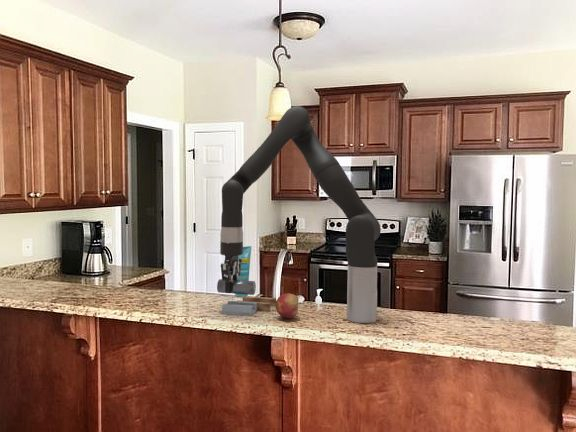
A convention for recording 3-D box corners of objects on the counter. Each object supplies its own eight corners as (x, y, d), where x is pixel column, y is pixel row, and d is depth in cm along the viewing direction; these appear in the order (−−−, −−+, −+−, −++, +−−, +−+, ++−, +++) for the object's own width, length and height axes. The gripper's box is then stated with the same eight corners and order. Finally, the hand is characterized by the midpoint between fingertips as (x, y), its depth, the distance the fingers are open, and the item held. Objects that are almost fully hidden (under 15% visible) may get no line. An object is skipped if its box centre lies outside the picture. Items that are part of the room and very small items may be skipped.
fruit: (291, 323, 144) (291, 297, 144) (270, 319, 148) (270, 294, 148) (303, 317, 151) (304, 292, 150) (283, 314, 155) (283, 290, 154)
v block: (256, 311, 158) (257, 302, 158) (251, 316, 152) (251, 306, 152) (228, 309, 160) (228, 300, 160) (221, 313, 154) (221, 304, 154)
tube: (236, 297, 179) (236, 247, 178) (230, 295, 183) (230, 246, 182) (253, 295, 183) (253, 246, 183) (247, 293, 187) (247, 245, 187)
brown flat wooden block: (276, 305, 167) (276, 298, 167) (269, 311, 158) (269, 303, 158) (244, 303, 170) (244, 296, 170) (235, 308, 161) (235, 301, 161)
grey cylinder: (255, 293, 157) (255, 280, 157) (251, 296, 153) (251, 282, 153) (221, 291, 160) (222, 278, 160) (216, 293, 156) (217, 280, 155)
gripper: (228, 238, 164) (228, 286, 165) (212, 242, 150) (212, 295, 151) (249, 239, 162) (248, 288, 163) (235, 243, 148) (234, 296, 149)
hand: (231, 291), depth 157 cm, fingers closed on grey cylinder, 4 cm apart
